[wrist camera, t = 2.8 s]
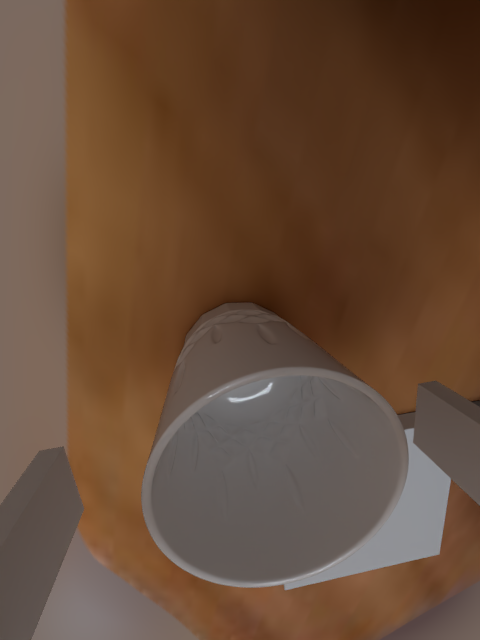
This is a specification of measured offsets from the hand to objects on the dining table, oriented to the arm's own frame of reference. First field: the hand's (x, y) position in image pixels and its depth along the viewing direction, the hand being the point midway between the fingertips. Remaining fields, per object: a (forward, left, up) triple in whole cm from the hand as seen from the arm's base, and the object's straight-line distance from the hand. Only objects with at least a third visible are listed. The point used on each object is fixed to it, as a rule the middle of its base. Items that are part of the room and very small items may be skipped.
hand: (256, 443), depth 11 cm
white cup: (0, 0, -8) cm, 8 cm away
